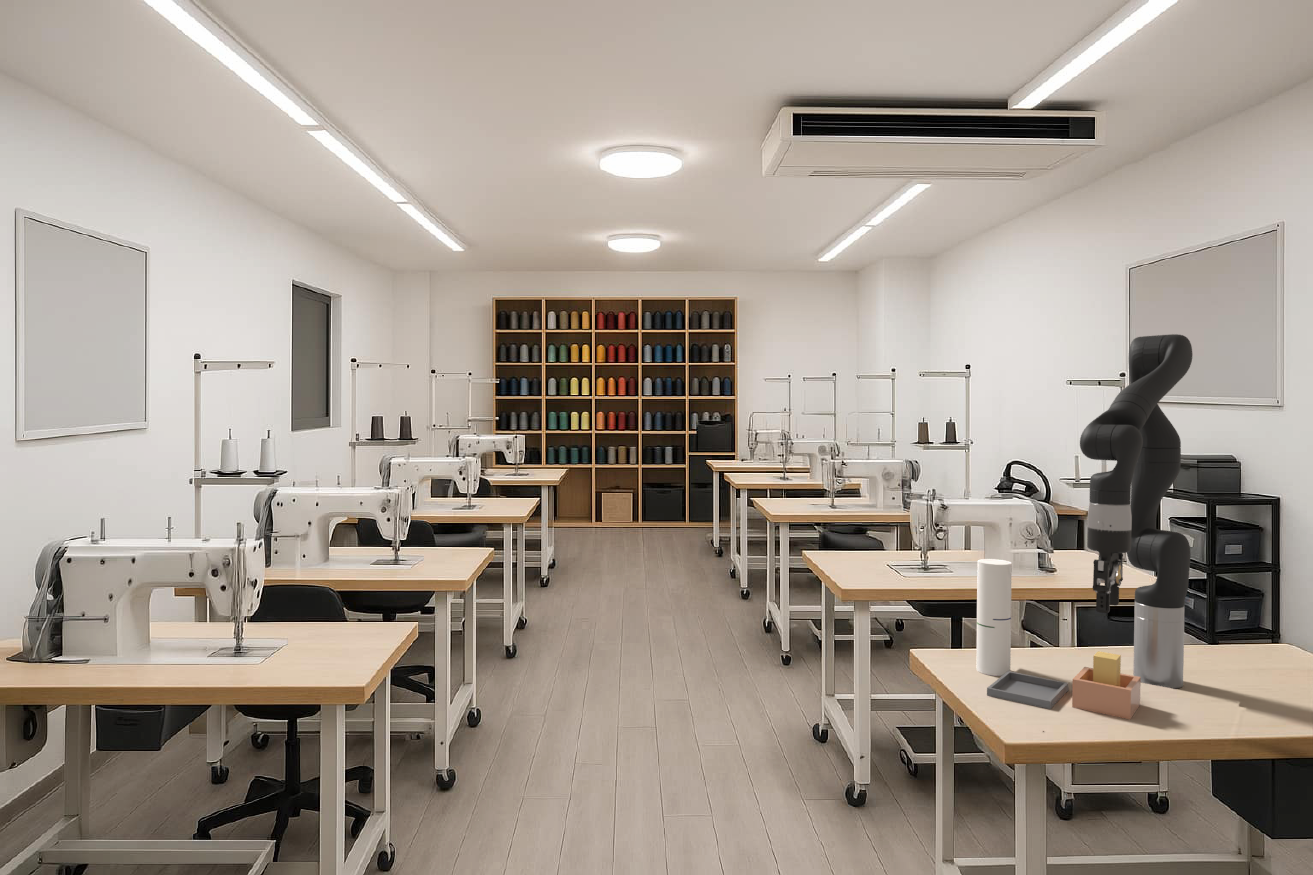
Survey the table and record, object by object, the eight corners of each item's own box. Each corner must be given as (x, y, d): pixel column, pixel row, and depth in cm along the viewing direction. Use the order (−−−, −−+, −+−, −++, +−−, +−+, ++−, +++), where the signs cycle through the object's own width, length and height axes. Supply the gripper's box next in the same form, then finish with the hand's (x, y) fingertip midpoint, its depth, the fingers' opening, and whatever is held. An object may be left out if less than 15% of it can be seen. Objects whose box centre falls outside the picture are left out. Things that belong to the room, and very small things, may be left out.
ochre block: (1097, 700, 162) (1098, 651, 161) (1119, 705, 159) (1120, 654, 159) (1092, 706, 159) (1093, 655, 158) (1115, 710, 156) (1116, 659, 156)
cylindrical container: (1013, 676, 179) (1014, 565, 178) (979, 674, 181) (980, 564, 180) (1006, 666, 186) (1007, 559, 185) (973, 665, 188) (974, 558, 187)
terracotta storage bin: (1084, 697, 166) (1084, 666, 166) (1140, 709, 160) (1140, 676, 159) (1072, 711, 158) (1072, 679, 158) (1130, 724, 152) (1130, 690, 152)
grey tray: (1008, 682, 176) (1008, 670, 176) (1068, 694, 168) (1068, 682, 168) (986, 699, 165) (986, 687, 165) (1050, 714, 157) (1050, 701, 157)
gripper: (1123, 532, 150) (1122, 618, 150) (1138, 524, 161) (1136, 604, 161) (1079, 528, 155) (1077, 612, 155) (1096, 520, 166) (1094, 599, 166)
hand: (1107, 608), depth 158 cm, fingers open, 8 cm apart
